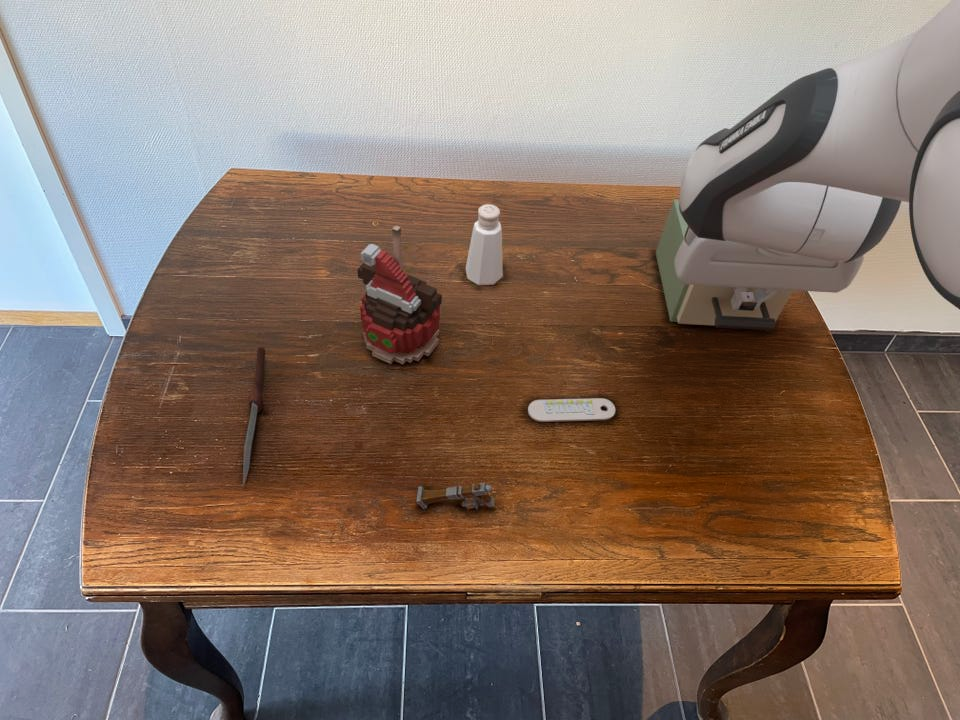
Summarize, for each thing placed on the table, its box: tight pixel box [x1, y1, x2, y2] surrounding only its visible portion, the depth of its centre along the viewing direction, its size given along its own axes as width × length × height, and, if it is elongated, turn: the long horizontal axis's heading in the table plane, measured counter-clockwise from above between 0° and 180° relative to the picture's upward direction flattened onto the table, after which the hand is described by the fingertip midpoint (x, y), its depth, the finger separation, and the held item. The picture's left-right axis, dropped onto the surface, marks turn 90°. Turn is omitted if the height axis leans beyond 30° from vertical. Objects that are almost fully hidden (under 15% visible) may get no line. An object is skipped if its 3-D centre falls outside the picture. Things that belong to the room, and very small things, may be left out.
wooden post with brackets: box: [416, 482, 496, 511], centre depth 72 cm, size 2×8×4 cm, turn 86°
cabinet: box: [655, 198, 689, 323], centre depth 94 cm, size 14×14×10 cm
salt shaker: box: [465, 203, 504, 286], centre depth 93 cm, size 5×5×11 cm
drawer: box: [677, 285, 794, 331], centre depth 91 cm, size 17×13×8 cm
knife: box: [242, 346, 266, 487], centre depth 78 cm, size 18×2×3 cm, turn 5°
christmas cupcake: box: [356, 225, 443, 365], centre depth 81 cm, size 11×9×18 cm
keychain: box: [527, 397, 616, 423], centre depth 82 cm, size 10×1×3 cm
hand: (743, 306), depth 86 cm, fingers closed
